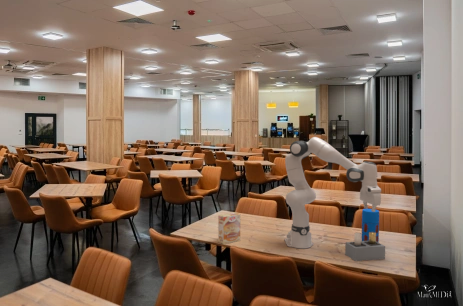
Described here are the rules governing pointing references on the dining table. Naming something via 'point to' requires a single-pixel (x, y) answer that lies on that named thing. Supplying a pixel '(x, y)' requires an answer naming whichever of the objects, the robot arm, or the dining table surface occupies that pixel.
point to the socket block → (365, 251)
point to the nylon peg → (357, 239)
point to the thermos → (370, 224)
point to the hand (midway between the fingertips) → (369, 210)
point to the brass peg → (372, 237)
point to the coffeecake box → (228, 228)
